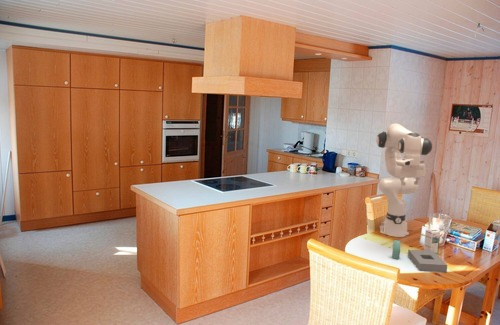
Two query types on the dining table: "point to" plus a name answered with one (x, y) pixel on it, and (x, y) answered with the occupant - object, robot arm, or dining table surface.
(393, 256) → the peg
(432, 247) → the syrup box
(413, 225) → the dining table surface
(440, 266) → the hole block
